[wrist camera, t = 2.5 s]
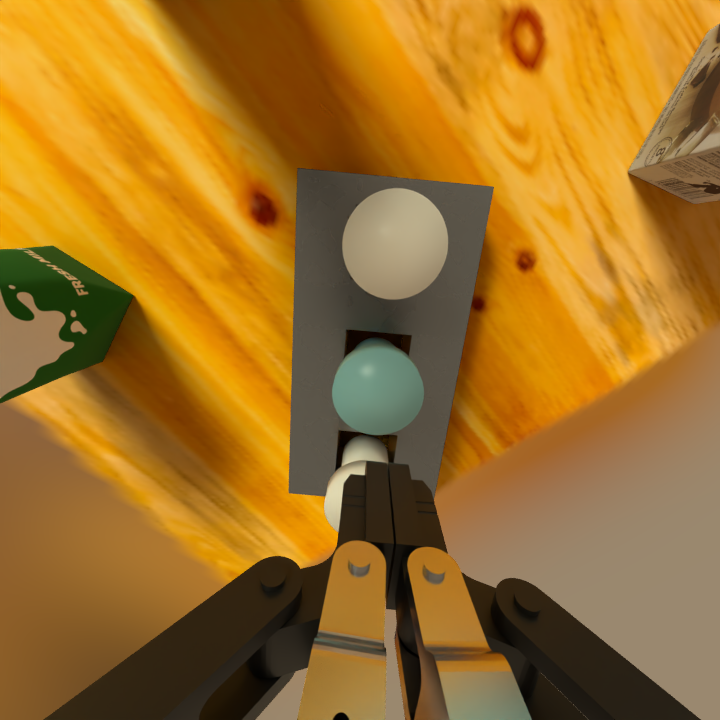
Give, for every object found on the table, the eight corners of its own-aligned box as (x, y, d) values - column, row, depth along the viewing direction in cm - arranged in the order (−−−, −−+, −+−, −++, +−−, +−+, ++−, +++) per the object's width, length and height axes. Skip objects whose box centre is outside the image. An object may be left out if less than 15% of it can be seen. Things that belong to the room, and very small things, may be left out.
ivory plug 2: (351, 199, 22) (346, 182, 16) (433, 207, 22) (456, 193, 16) (345, 282, 23) (338, 294, 18) (421, 289, 23) (438, 303, 18)
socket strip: (310, 182, 25) (297, 168, 21) (470, 197, 26) (494, 186, 21) (299, 457, 33) (288, 493, 28) (423, 468, 33) (432, 505, 28)
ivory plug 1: (335, 423, 27) (326, 471, 21) (401, 429, 27) (410, 478, 21) (331, 478, 28) (322, 536, 23) (393, 484, 28) (400, 543, 23)
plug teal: (342, 323, 24) (335, 346, 19) (415, 329, 24) (430, 355, 19) (337, 390, 26) (329, 431, 20) (406, 396, 26) (417, 438, 20)
